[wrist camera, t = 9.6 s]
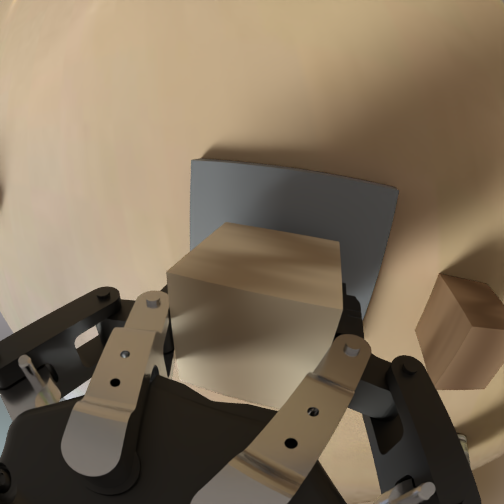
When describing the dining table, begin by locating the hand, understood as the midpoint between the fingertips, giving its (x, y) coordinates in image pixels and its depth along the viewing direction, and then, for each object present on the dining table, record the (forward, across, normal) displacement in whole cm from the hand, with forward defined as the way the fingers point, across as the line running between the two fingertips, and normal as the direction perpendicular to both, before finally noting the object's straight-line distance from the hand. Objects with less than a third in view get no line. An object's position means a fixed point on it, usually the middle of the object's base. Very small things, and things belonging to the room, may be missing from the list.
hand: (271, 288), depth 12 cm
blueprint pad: (+3, 0, 0) cm, 3 cm away
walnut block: (+3, -11, +1) cm, 11 cm away
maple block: (+1, 0, 0) cm, 1 cm away
